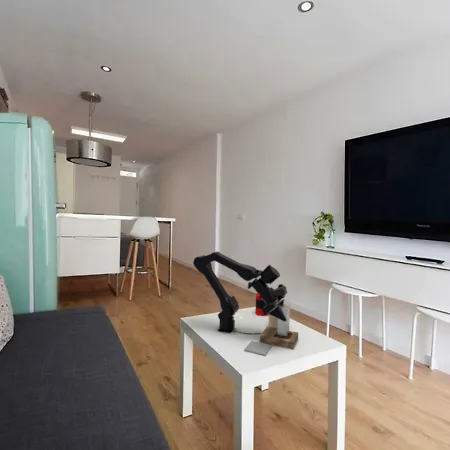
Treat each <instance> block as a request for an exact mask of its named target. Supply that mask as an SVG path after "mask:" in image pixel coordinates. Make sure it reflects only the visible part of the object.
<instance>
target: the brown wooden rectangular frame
mask: <svg viewBox="0 0 450 450" xmlns="http://www.w3.org/2000/svg"><path fill="white" fill-rule="evenodd" d="M277 330H278V328H272V327H269V326H266V327H265V328H264V329H263V331H262V332H261V333H260V335H259V343H263V344H268V345H272V346H275V347H280V348H283V349H284V348H285V349H289V350H294V348H295V347H296V345H297V343H298V340H299V331H298V332H297V331H291V330H289V333H288V335H287V336H282V335H277Z"/></svg>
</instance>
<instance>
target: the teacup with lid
mask: <svg viewBox="0 0 450 450" xmlns="http://www.w3.org/2000/svg"><path fill="white" fill-rule="evenodd" d="M267 327H272V328H278V318H276V317H274V316H272V315H270V314H268V326H267Z"/></svg>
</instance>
